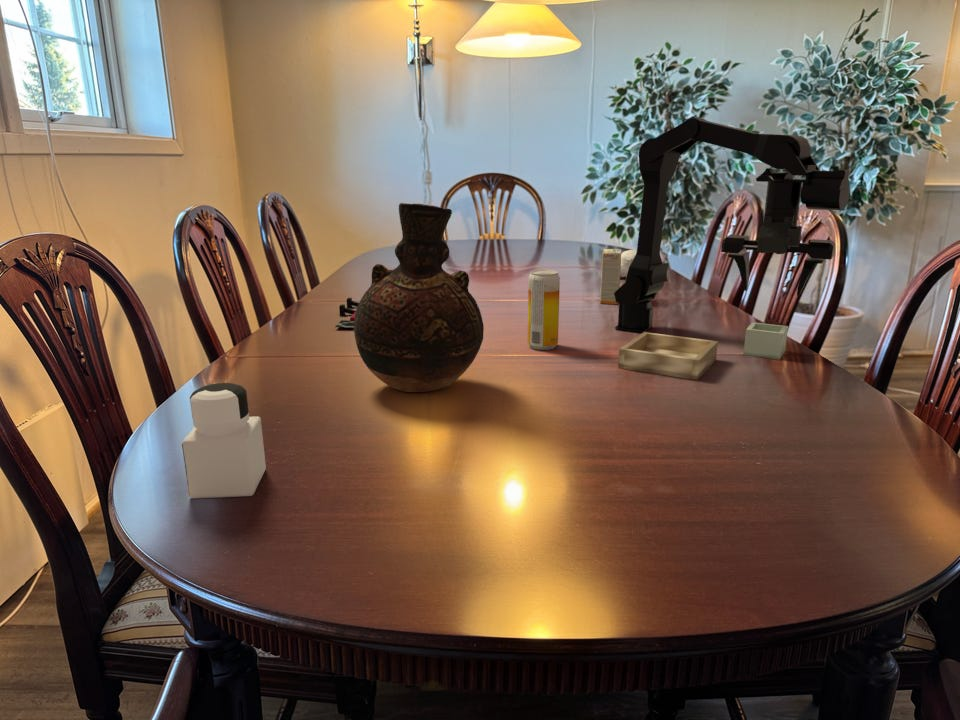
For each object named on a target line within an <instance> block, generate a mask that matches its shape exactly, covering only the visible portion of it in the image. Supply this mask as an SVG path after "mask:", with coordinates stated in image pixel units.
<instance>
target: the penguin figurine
mask: <svg viewBox="0 0 960 720" xmlns="http://www.w3.org/2000/svg"><path fill="white" fill-rule="evenodd" d="M636 252H637V249H636V250H635V249H629V250H624V251H623V252H621V272H620V275H624V274H625V275H624V276H625V277H626V276H627V273H628V269H629V266H630V264H631V263H632V261H633V259H634V257H635V255H636Z"/></svg>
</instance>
